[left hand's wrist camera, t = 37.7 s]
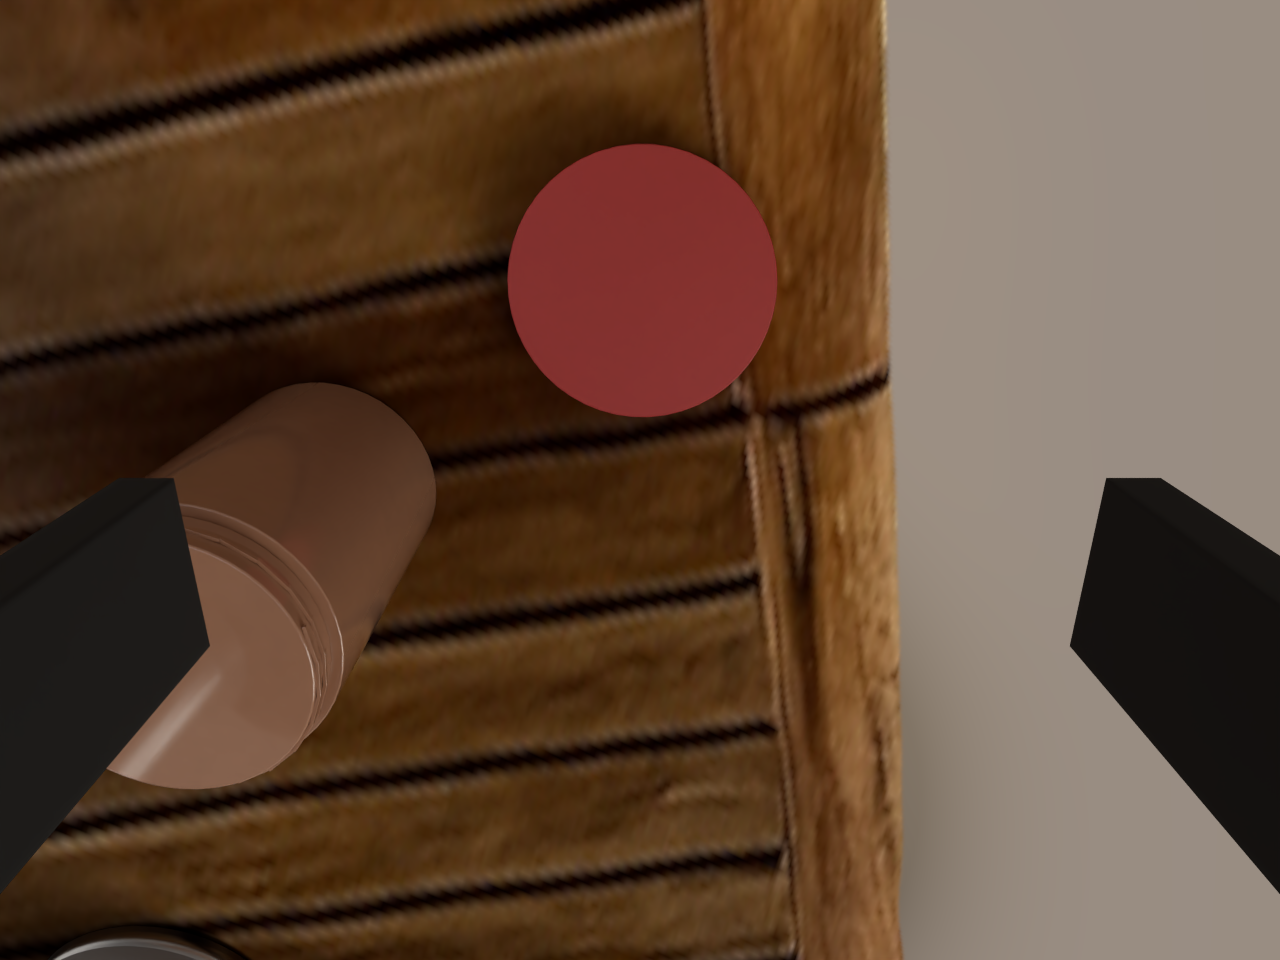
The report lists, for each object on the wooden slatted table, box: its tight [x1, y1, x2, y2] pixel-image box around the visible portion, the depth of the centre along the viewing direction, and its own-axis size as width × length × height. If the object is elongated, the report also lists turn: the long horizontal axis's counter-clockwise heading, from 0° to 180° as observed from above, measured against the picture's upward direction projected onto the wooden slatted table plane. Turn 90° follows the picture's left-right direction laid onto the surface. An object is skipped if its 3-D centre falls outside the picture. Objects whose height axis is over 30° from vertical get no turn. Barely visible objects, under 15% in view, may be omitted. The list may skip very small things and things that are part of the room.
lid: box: [507, 144, 777, 417], centre depth 35 cm, size 11×11×2 cm
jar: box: [106, 383, 436, 789], centre depth 33 cm, size 10×10×15 cm
